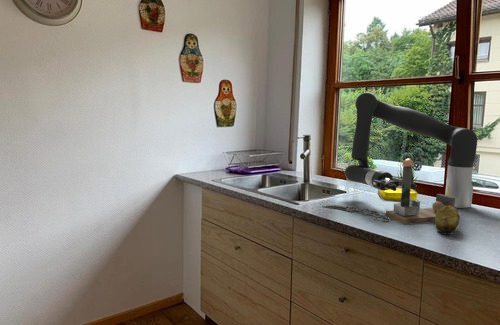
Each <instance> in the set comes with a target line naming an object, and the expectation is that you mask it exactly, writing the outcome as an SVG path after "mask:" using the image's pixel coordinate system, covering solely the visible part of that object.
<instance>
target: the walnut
mask: <svg viewBox="0 0 500 325" xmlns="http://www.w3.org/2000/svg"><path fill="white" fill-rule="evenodd" d="M441 206H444V205H443V203H441V202H438V201H437V202H436V201H434V202H433V203H432V207H431V208H433V210H434V211H436V212H437V210H438V209H439V208H440V207H441Z"/></svg>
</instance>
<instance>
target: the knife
mask: <svg viewBox="0 0 500 325" xmlns="http://www.w3.org/2000/svg"><path fill="white" fill-rule="evenodd" d="M321 207H322V208H330V209H331V208H332V209H338V210H342V211H346V212H349V213H360V214H362V215H365V216H368V217H372V218H373V221H376V222H380V223H386V224H387V223H390V222H391V219H390V218H389V217H388V216H386V215H385V214H382V213H379V212H377V211H375V210H374V211H373V210H370V209H369V208H366V207H365V208H363V207H357V206H351V205H350V206H348V205H347V206H345V205H344V206H343V205H337V204H336V205H333V204H332V205H322V206H321Z"/></svg>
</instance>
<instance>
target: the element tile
mask: <svg viewBox="0 0 500 325" xmlns="http://www.w3.org/2000/svg"><path fill="white" fill-rule="evenodd" d="M399 186H400V187H401V185H399ZM401 192H402V189H401V188H396V191H393V190H390V189H389V190H386V191H383V190H380V189H377V195H378V196H379V197H380V198H381V200H385V201H394V200H395V201H398V202H401ZM410 199H413V200H416V201H418V192H417V191H416V190H413V189H411V191H410ZM395 201H394V202H395Z"/></svg>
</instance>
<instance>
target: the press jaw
mask: <svg viewBox="0 0 500 325" xmlns="http://www.w3.org/2000/svg"><path fill="white" fill-rule="evenodd" d="M402 166H403V168H402V178H401V179H402V192H401V201H400V203H399V202H397V203H393V210H392V211H393V212H396V213H398V214H401V215H403V216H409V215H419V210H420V207H421V202H420V201H419V200H417V201H416V200H413V199H410V191H411V181H412V177H413V176H412V175H413V167H414V161H413V160H412V159H410V158H406V159H404V160H403V161H402Z"/></svg>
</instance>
